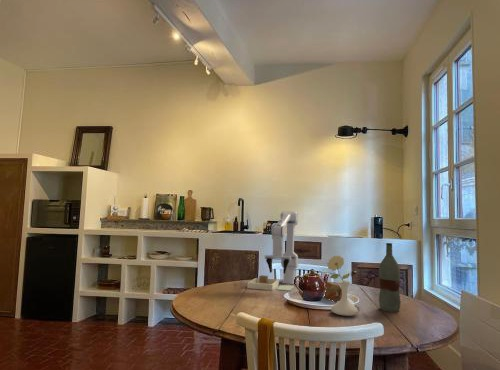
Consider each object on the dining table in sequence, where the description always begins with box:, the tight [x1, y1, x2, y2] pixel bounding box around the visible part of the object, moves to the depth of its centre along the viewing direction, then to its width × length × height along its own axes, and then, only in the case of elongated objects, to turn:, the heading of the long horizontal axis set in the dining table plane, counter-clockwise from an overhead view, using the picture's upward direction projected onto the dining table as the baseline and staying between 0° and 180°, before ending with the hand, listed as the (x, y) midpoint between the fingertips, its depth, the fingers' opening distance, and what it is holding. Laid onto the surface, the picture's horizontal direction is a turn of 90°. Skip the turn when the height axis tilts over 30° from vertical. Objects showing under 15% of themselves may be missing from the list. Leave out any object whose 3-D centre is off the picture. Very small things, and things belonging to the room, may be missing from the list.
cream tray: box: [246, 277, 280, 291], centre depth 212 cm, size 16×15×3 cm
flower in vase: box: [326, 255, 359, 317], centre depth 158 cm, size 13×11×25 cm
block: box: [258, 275, 269, 284], centre depth 212 cm, size 4×4×6 cm
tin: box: [323, 281, 342, 302], centre depth 183 cm, size 15×3×8 cm, turn 25°
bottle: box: [378, 242, 401, 313], centre depth 167 cm, size 9×9×30 cm
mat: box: [275, 284, 295, 292], centre depth 208 cm, size 12×8×1 cm, turn 163°
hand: (277, 272), depth 201 cm, fingers open, 7 cm apart
